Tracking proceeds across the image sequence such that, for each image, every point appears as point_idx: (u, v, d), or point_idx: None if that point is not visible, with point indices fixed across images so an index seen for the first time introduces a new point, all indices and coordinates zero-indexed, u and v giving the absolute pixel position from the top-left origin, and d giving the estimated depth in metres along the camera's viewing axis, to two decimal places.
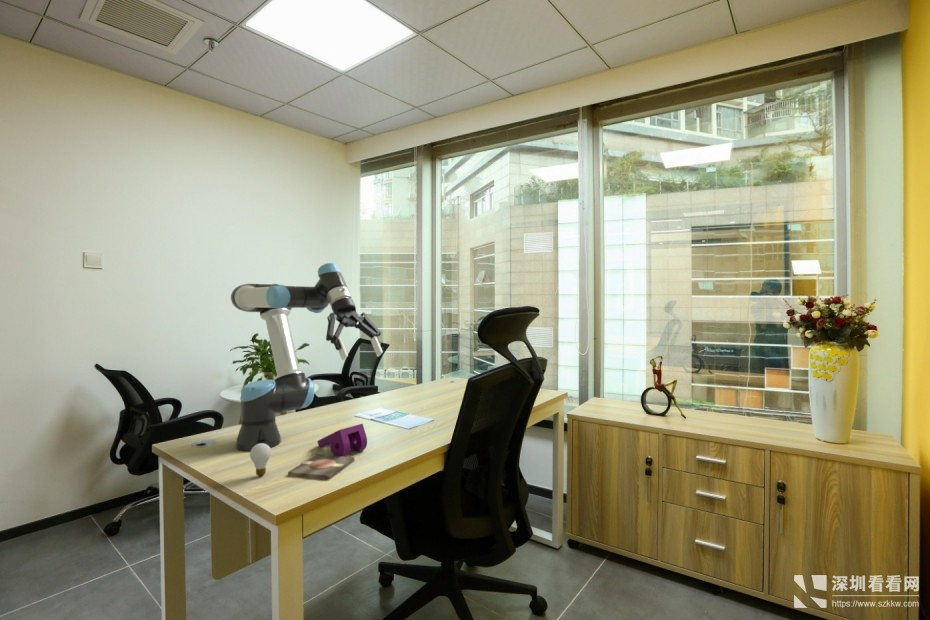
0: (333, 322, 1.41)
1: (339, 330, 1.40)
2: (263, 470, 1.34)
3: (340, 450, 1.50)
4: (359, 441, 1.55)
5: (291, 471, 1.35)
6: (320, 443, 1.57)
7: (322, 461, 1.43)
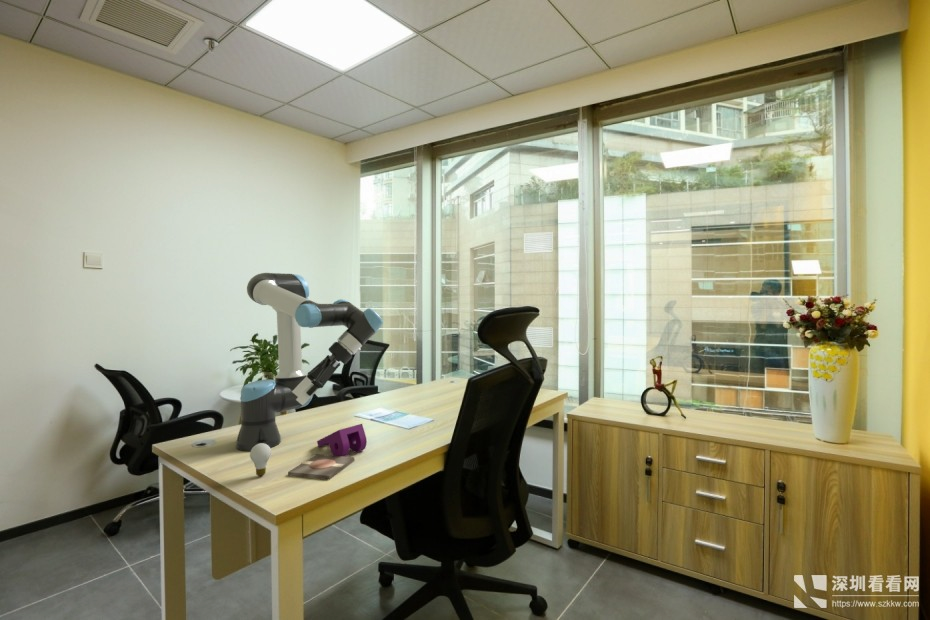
0: None
1: None
2: (263, 470, 1.34)
3: (339, 450, 1.49)
4: (358, 441, 1.55)
5: (291, 471, 1.35)
6: (319, 444, 1.57)
7: (322, 461, 1.43)
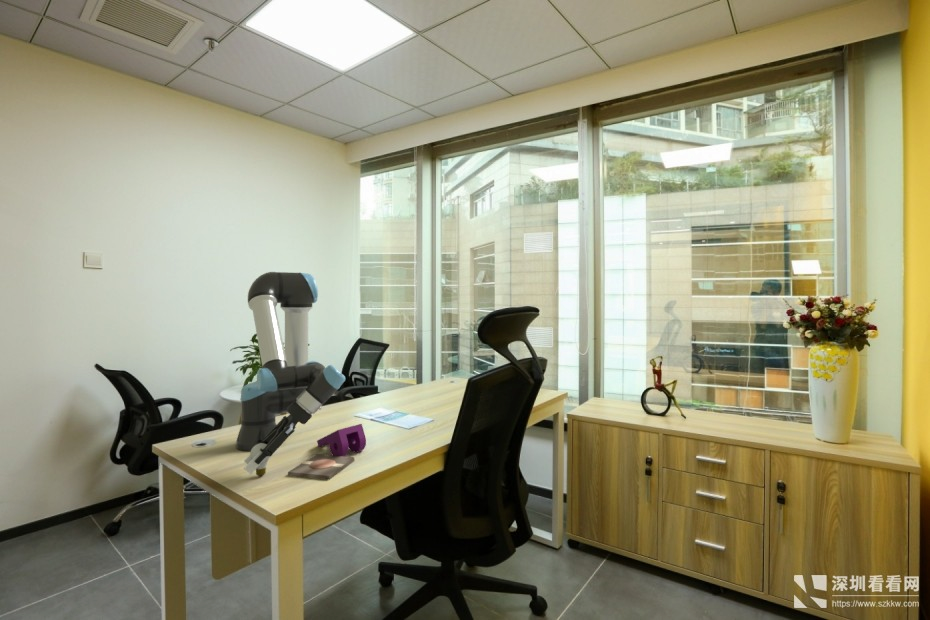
0: None
1: None
2: (263, 470, 1.34)
3: (338, 450, 1.50)
4: (358, 441, 1.54)
5: (291, 471, 1.35)
6: (319, 443, 1.57)
7: (322, 461, 1.43)
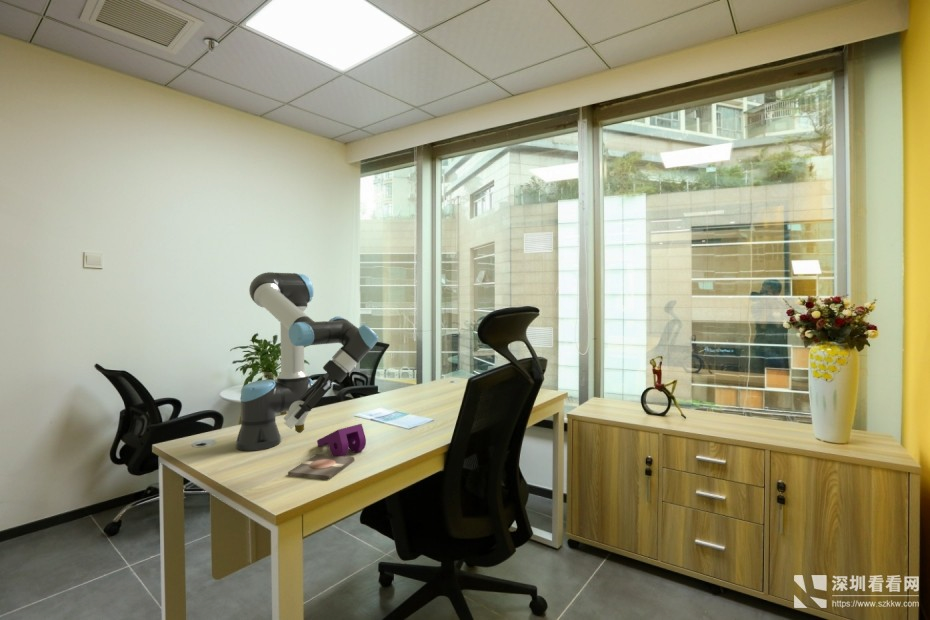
0: None
1: None
2: (301, 426, 1.36)
3: (338, 450, 1.50)
4: (357, 441, 1.55)
5: (291, 471, 1.35)
6: (319, 443, 1.58)
7: (322, 461, 1.43)
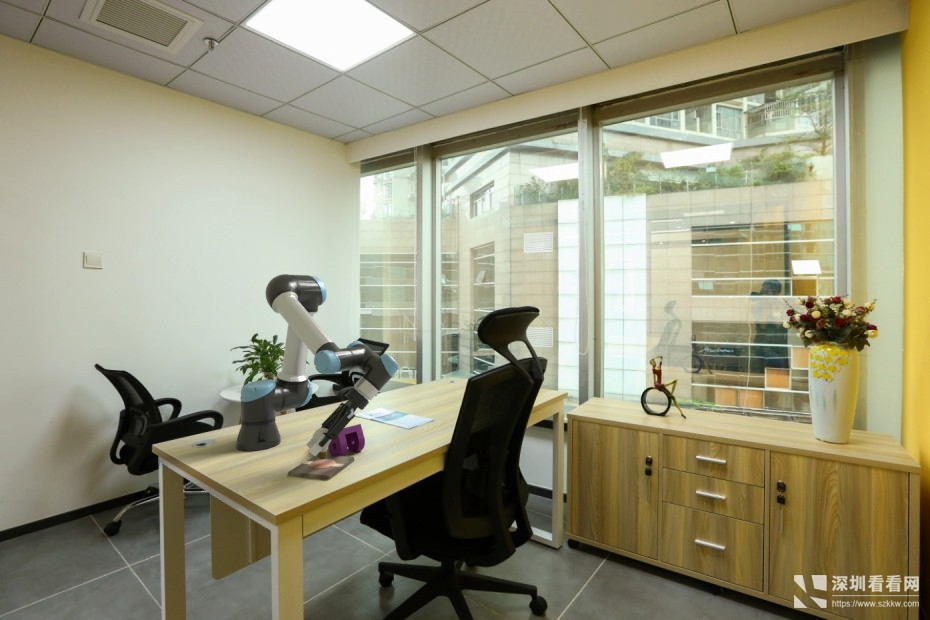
0: None
1: None
2: (324, 453, 1.40)
3: (337, 450, 1.50)
4: (356, 441, 1.54)
5: (291, 471, 1.35)
6: None
7: (322, 461, 1.43)
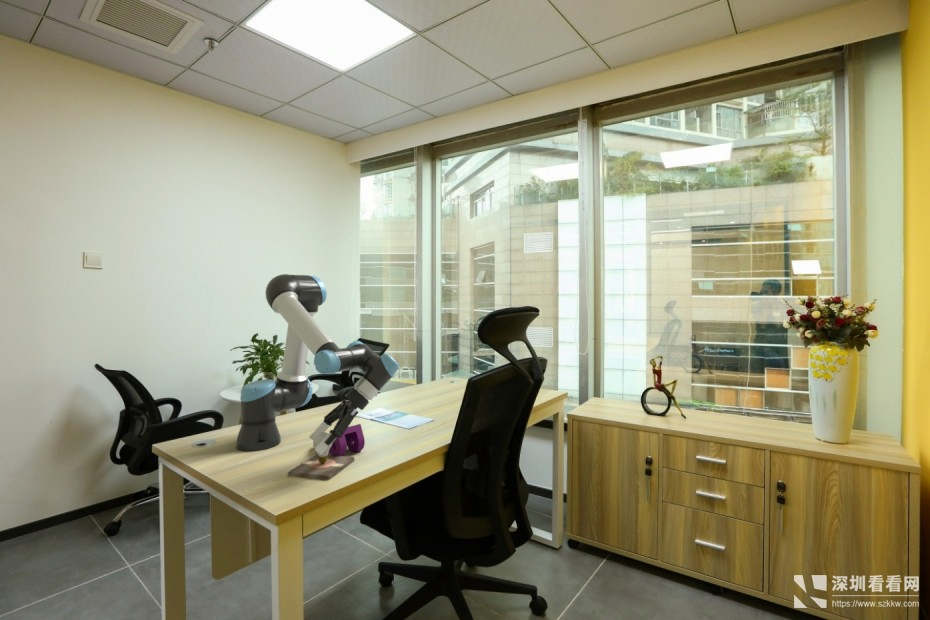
0: None
1: None
2: (325, 458, 1.40)
3: (337, 450, 1.50)
4: (356, 441, 1.54)
5: (291, 471, 1.35)
6: None
7: None
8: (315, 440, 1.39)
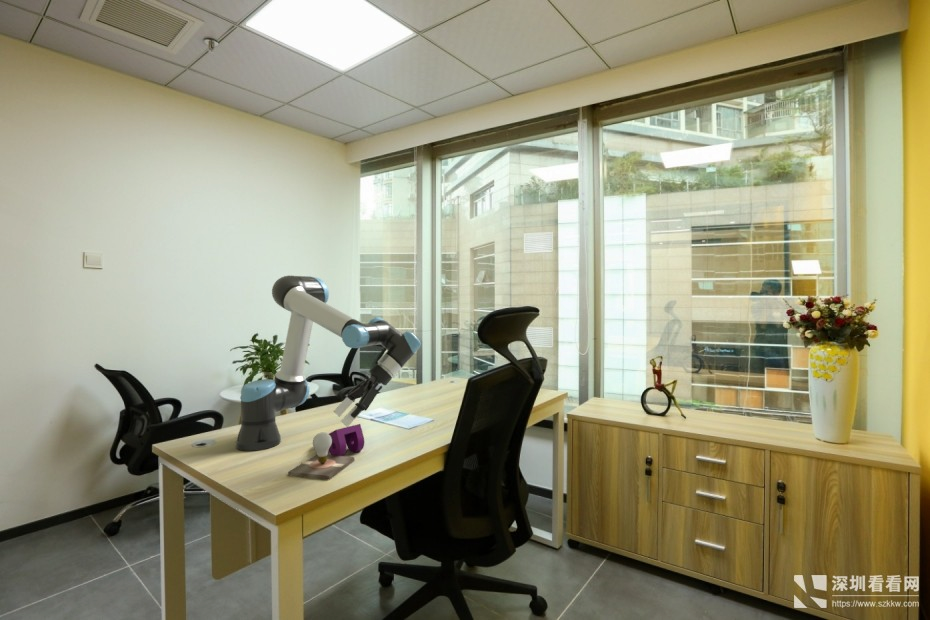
0: None
1: None
2: (324, 458, 1.40)
3: (336, 450, 1.50)
4: (356, 441, 1.54)
5: (291, 471, 1.35)
6: None
7: None
8: (314, 440, 1.39)
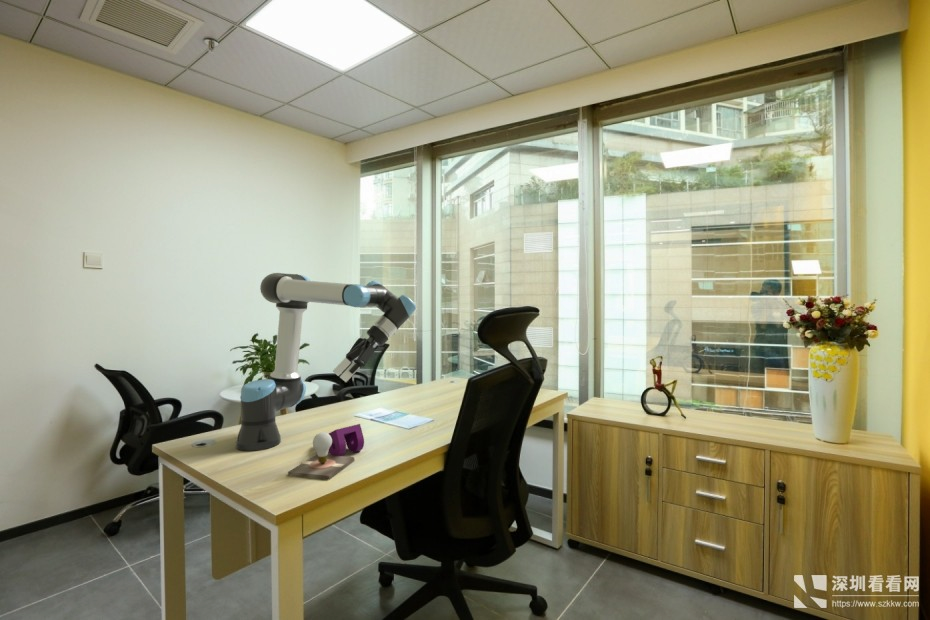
0: None
1: None
2: (324, 458, 1.40)
3: (336, 450, 1.50)
4: (356, 441, 1.54)
5: (291, 471, 1.35)
6: None
7: None
8: (314, 440, 1.39)
